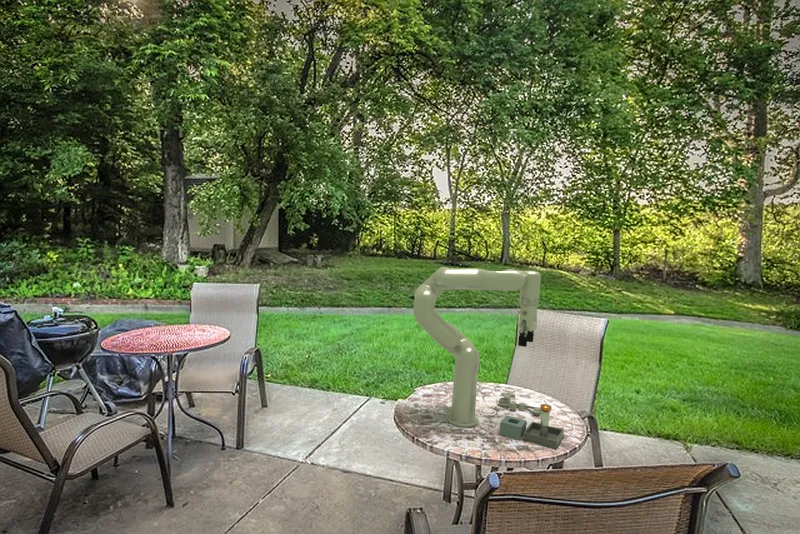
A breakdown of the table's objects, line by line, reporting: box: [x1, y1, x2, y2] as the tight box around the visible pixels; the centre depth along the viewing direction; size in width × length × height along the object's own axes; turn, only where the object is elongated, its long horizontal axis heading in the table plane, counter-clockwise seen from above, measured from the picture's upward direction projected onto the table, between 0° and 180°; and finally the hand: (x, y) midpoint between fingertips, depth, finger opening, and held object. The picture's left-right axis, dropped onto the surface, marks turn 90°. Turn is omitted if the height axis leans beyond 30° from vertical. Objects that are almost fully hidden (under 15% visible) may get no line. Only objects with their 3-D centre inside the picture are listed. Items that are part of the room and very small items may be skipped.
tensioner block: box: [498, 415, 528, 441], centre depth 179 cm, size 8×8×5 cm
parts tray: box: [522, 421, 565, 450], centre depth 176 cm, size 12×12×3 cm
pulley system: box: [497, 392, 541, 417], centre depth 209 cm, size 27×5×15 cm
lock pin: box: [539, 403, 552, 438], centre depth 176 cm, size 4×4×12 cm
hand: (525, 343), depth 186 cm, fingers open, 9 cm apart
